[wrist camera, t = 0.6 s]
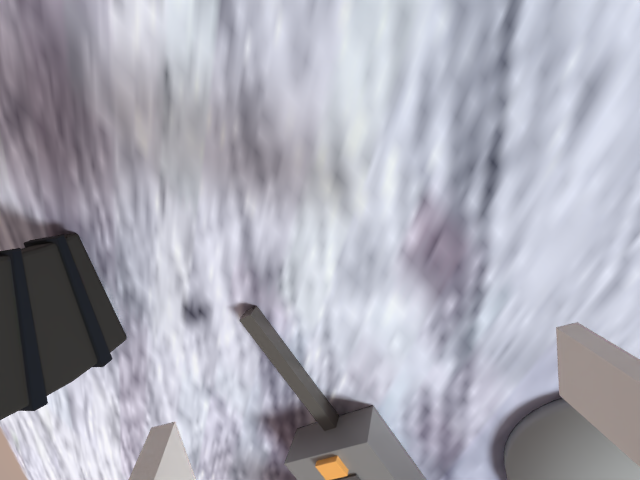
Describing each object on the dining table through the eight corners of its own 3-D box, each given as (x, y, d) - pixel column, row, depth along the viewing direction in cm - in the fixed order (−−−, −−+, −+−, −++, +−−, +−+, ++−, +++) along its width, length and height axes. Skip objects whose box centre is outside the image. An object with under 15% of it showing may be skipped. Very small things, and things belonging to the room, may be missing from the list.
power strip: (216, 326, 32) (190, 357, 29) (289, 289, 29) (270, 319, 26) (398, 558, 38) (395, 608, 35) (476, 549, 35) (482, 603, 32)
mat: (514, 379, 27) (517, 390, 26) (765, 407, 24) (778, 420, 23) (495, 510, 33) (497, 522, 32) (697, 549, 29) (706, 564, 28)
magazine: (102, 379, 36) (-122, 456, 22) (94, 240, 37) (-123, 229, 23) (133, 379, 35) (-82, 460, 21) (125, 235, 36) (-85, 220, 22)
